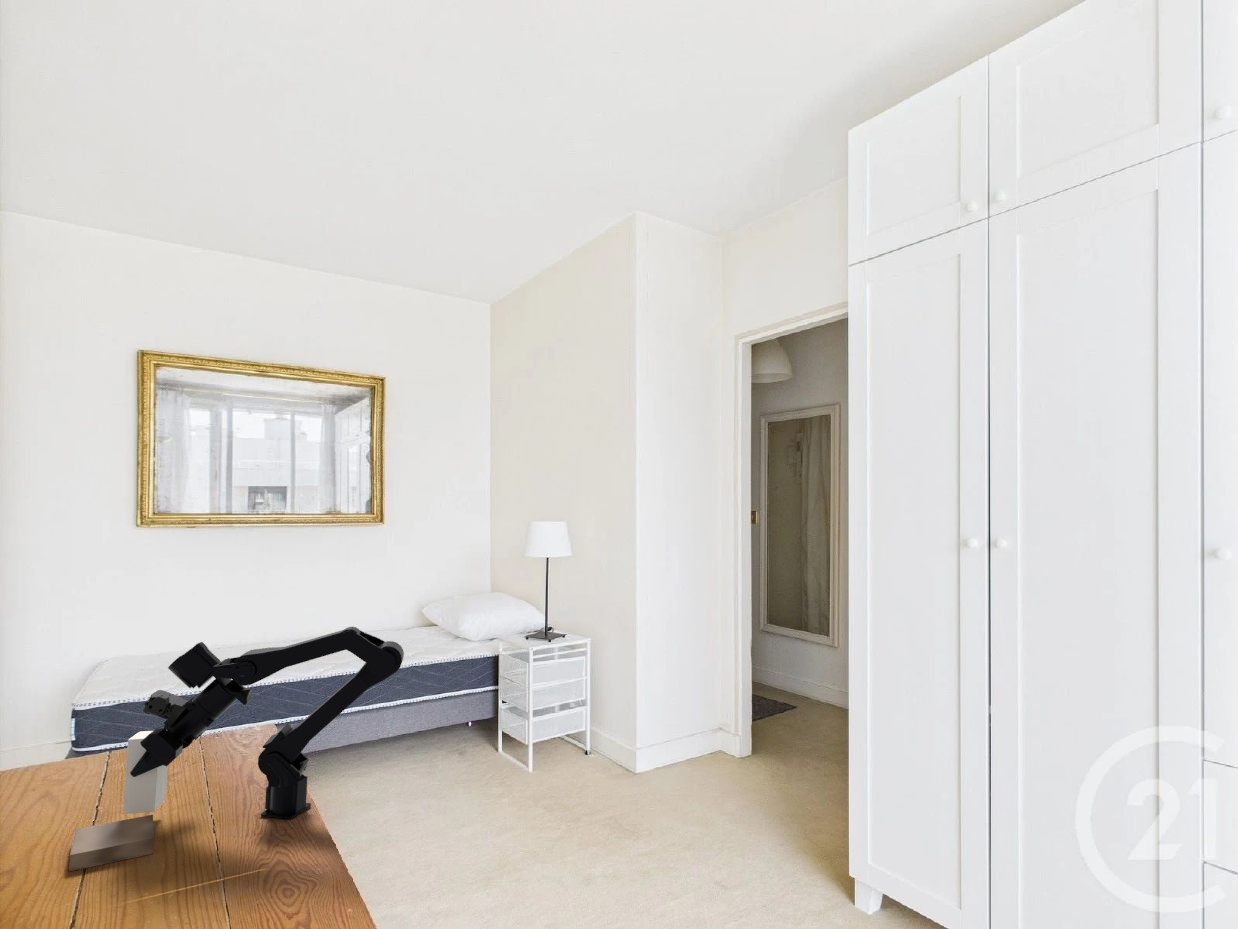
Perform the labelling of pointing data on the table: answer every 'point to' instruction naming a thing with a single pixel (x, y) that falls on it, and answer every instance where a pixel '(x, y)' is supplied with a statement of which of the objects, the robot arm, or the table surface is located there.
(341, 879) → the table surface
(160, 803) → the cream block
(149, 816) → the walnut plinth
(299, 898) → the table surface
